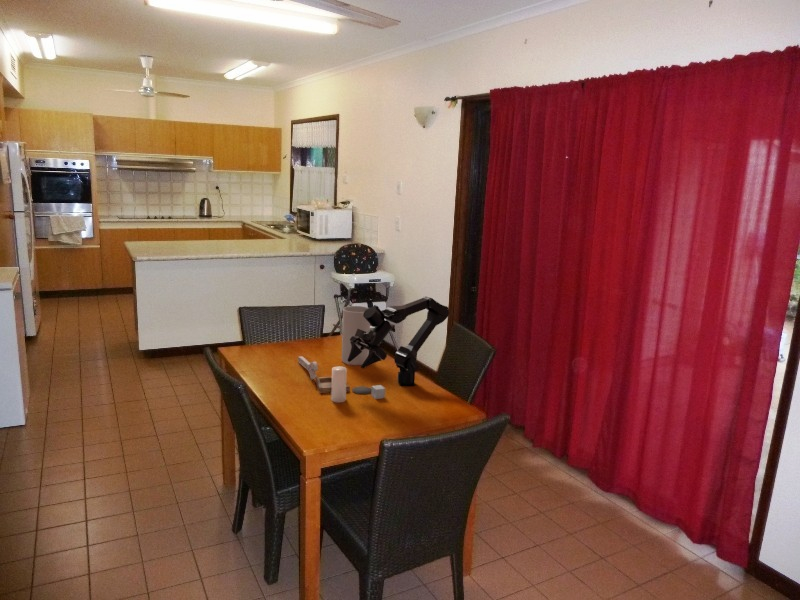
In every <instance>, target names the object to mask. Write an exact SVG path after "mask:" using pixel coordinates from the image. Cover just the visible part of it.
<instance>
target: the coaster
mask: <svg viewBox="0 0 800 600" xmlns="http://www.w3.org/2000/svg"><path fill="white" fill-rule="evenodd" d="M351 391H352V393H354V394H357V395H369V394H371V392H372V387H371V388H370V387H368V386H355V387H352V390H351Z"/></svg>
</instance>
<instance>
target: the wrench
mask: <svg viewBox="0 0 800 600" xmlns="http://www.w3.org/2000/svg"><path fill="white" fill-rule="evenodd" d="M297 358H298V359H297V361H298V364H300V365H301V366H302V367H303V368H305V369H306V370H307V371H308V373H309V376H310V380H316V378H317V377H318V375H317V373H316V371H319V367H318V362H317V361H311V362H310V361H308V360H307V358H305V357H304V356H302V355H301V356H298V357H297Z"/></svg>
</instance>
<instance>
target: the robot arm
mask: <svg viewBox="0 0 800 600" xmlns="http://www.w3.org/2000/svg"><path fill="white" fill-rule="evenodd" d="M367 308H368V309H367V310H365V312H364V314H363V317H364V318H365V319H366V320H367V321H368V322H369V323H370V327H371V326H372V327H373V328H372V330H371V329H370V330H368V331H367V332H365V331H363V330H360V329H357V331H356V334H355V336H352V337H351V338H350V343H351V346H352V348H351V352H350V355H349V357H348V362H350V361H352V360H353V359H354V358H355V357H357V356H358V355H359V354H360V353H361V352H362V351H361V350H363V349H364V348H365V349H367V350H369V355H368V357H367V358H366V360H365V361H364V362H363V364H362V365H360V368H361V369H362V370H363V369H366V368H367V367H369V366H371V365H374V364H375V363H377V362H382V361H385V360H386V359H387V357H388V353H387V352H386V351H385V350H384V348H383V347H382V346H380V345H381V344H384V343H385V339H386V337H387V335H389V333H390V332H393V333H395V332H396V327H395V326H396V325H395V324H399V323H402V322H403V321H405V320H406V319H407V317H409V316H411V315H413V314H416V313H419V312H421V311H423V310H425V309H426V310H427V314H426V319H425V321H424V322H423V323H422V325H421V326H420V327H419V329H418V330H417V332H416V333H415V335H414V336H413V337H412V338H411V340H410V341H409V343H408V344H407V345H406V346H403V345H401V346H399V348H398V349H397V351H396V352H395V354H394V356H393V357H394V358H393V360H394V364H395V365H396V368H398V369H399V371H398V372H397V383H398V384H399V386H401V387H402V386H405V387H406V386H407V387H413V386H414V387H415V386H416V384H415V381H416V380H415V378H416V377H415V376H416V372H418V371H419V368H420V366H419V364H418V363H417V362H416V361H417V359H418V352H419V351H420V349H421V348H422V346H423V345H424V343H426V341H427V339H428V338H429V336H430V335H431V334H432V333H433V330H434V329H435V328H436V327H437V326H439V325H440V324H443V322H445V321H446V319H447V318H448V317H449V315H450V309H449V307H448V306H447V305H443V304H441V303H440V302H438V301H436V300H435V299H433V298H432V297H428V296H423V297H421V298H419V299H417V300H413V301H411V302H408V303H406V304H402V305H392V306H387V307H386V308H385V309H383V310H381V309H380V307H379V306H378V305H377V304H373V306H370V307H367ZM392 323H394V324H392ZM356 336H358V337H356ZM360 338H361V339H360ZM363 341H364V342H363ZM366 346H367V347H366Z"/></svg>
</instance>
